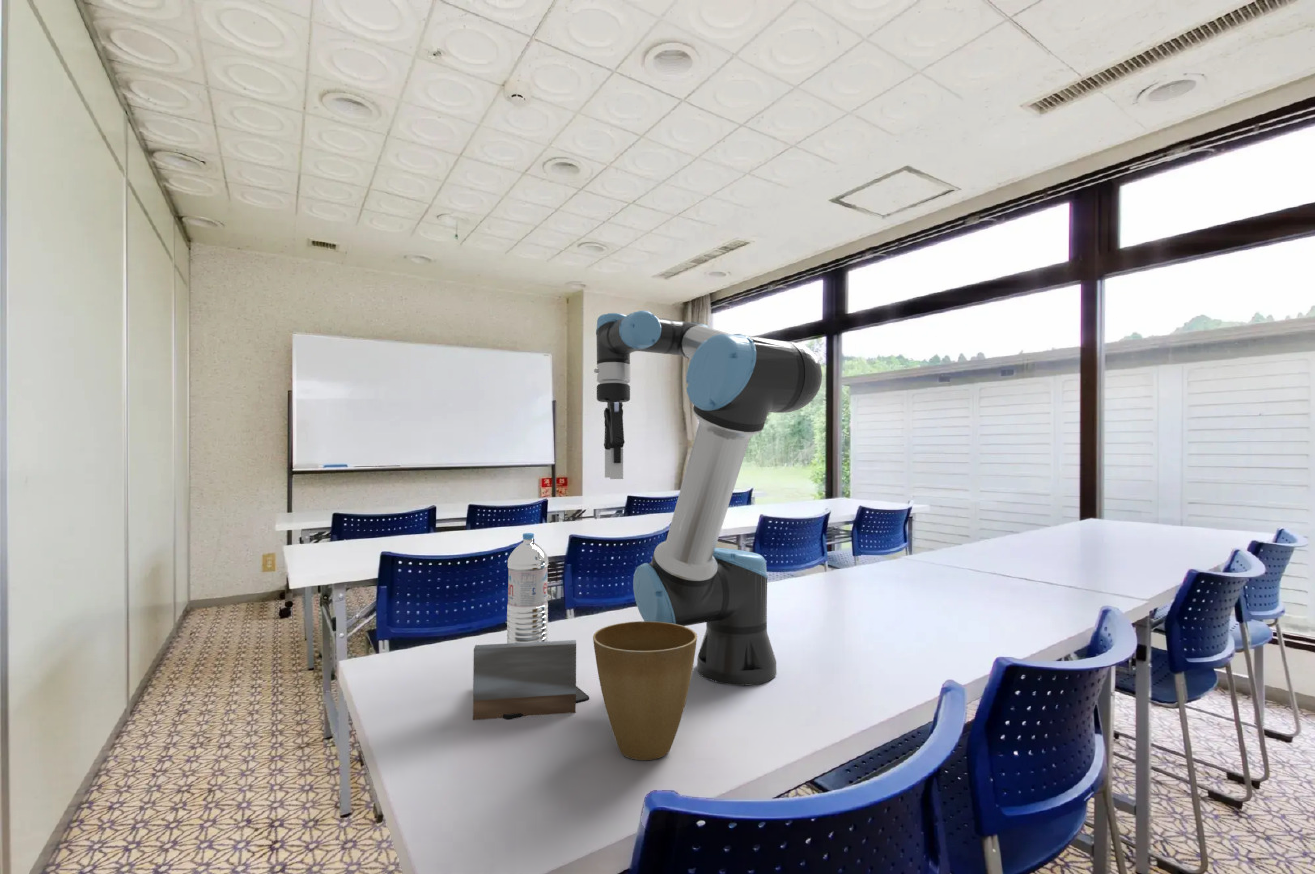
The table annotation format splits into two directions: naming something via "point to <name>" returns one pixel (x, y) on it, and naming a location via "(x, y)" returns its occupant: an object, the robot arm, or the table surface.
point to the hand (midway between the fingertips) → (613, 478)
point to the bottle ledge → (524, 679)
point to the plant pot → (645, 683)
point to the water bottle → (527, 593)
